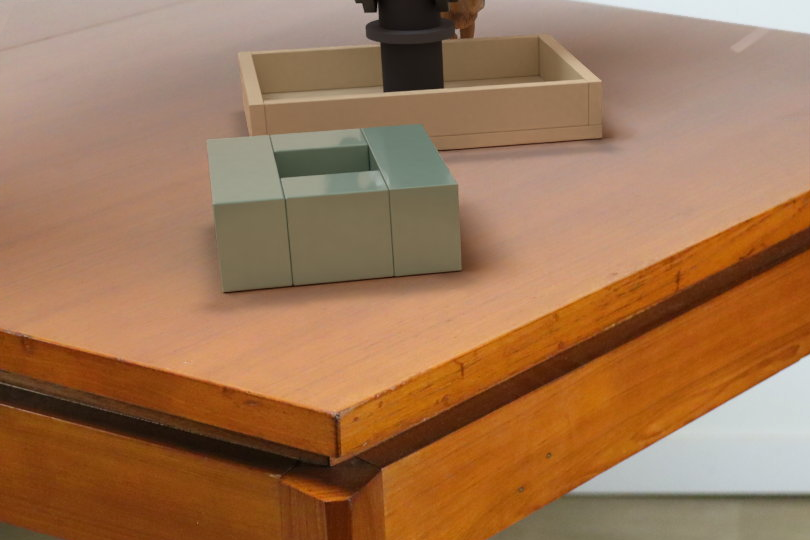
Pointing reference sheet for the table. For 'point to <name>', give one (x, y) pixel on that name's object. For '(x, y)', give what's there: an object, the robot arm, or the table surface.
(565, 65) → the wooden tray
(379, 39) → the plug
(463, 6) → the lion figurine
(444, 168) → the block
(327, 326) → the table surface
